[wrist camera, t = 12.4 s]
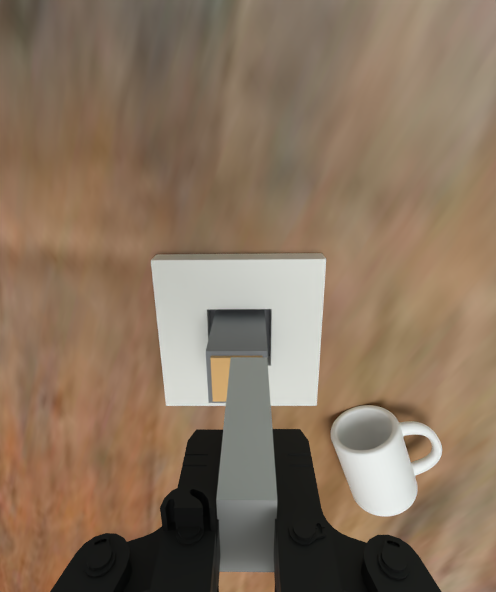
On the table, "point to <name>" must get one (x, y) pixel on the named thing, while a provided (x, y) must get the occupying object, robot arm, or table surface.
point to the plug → (232, 345)
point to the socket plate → (240, 295)
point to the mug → (380, 458)
